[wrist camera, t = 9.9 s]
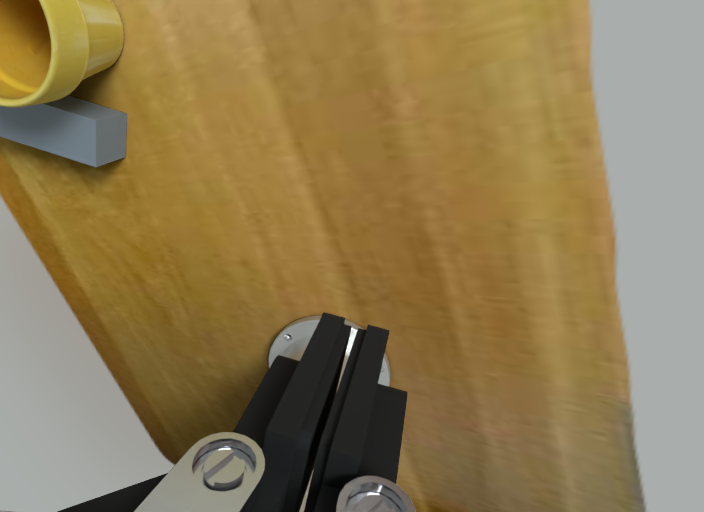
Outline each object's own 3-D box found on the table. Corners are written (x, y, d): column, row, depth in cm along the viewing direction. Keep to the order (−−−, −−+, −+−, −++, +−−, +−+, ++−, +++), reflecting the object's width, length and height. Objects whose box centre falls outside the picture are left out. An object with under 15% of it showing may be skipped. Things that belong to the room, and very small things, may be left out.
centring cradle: (125, 156, 43) (96, 167, 40) (8, 119, 44) (-32, 126, 40) (134, -123, 34) (96, -142, 30) (-16, -163, 35) (-70, -187, 31)
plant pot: (68, 106, 42) (-33, 123, 33) (10, -22, 39) (-120, -40, 30) (165, 77, 39) (82, 87, 31) (112, -64, 36) (1, -98, 27)
